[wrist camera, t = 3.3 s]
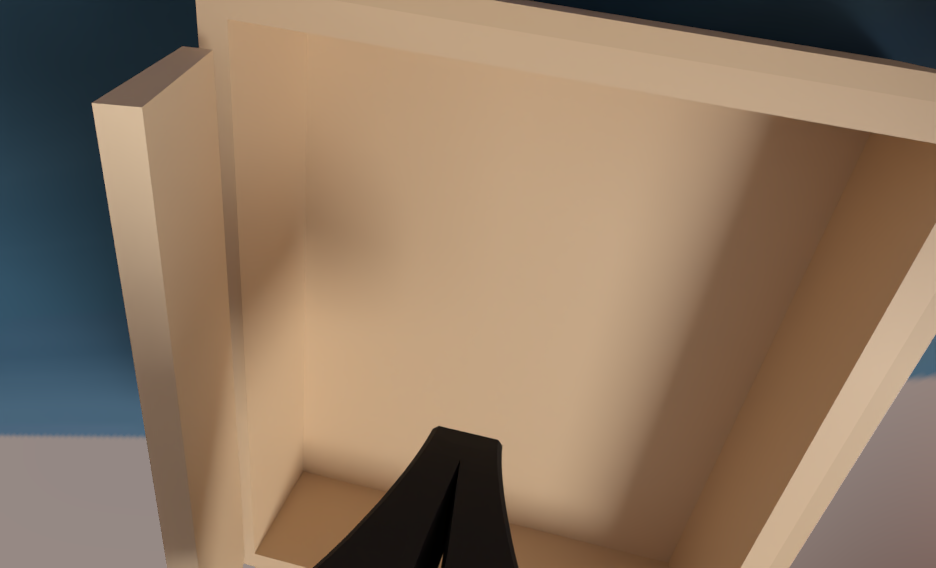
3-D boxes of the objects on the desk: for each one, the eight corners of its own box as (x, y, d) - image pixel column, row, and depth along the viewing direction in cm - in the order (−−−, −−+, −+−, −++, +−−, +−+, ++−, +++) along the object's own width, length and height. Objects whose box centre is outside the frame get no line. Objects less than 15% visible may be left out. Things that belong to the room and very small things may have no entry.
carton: (939, 67, 12) (1084, 97, 9) (686, 573, 20) (707, 697, 17) (294, -39, 13) (191, -50, 10) (294, 475, 21) (237, 569, 18)
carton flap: (142, 108, 6) (90, 103, 6) (219, 731, 13) (194, 735, 13) (212, 49, 10) (182, 46, 10) (244, 553, 17) (226, 555, 17)
